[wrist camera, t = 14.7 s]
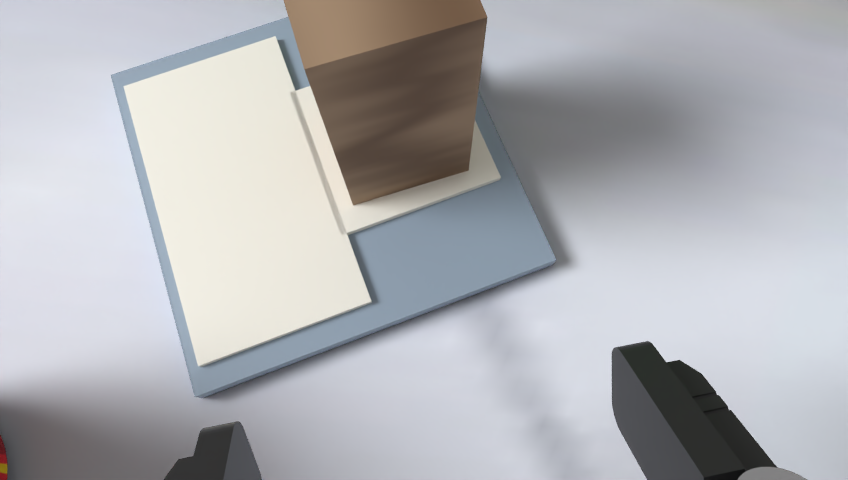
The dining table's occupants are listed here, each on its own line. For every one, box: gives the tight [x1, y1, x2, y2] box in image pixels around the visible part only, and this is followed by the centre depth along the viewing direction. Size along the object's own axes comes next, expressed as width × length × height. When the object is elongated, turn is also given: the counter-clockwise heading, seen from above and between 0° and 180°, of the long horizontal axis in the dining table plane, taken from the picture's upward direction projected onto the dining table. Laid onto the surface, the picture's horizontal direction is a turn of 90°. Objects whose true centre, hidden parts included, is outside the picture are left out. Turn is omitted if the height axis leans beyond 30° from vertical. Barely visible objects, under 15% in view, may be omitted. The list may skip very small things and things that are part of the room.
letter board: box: [111, 17, 556, 398], centre depth 27 cm, size 15×15×1 cm
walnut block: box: [284, 0, 487, 205], centre depth 22 cm, size 5×5×10 cm
